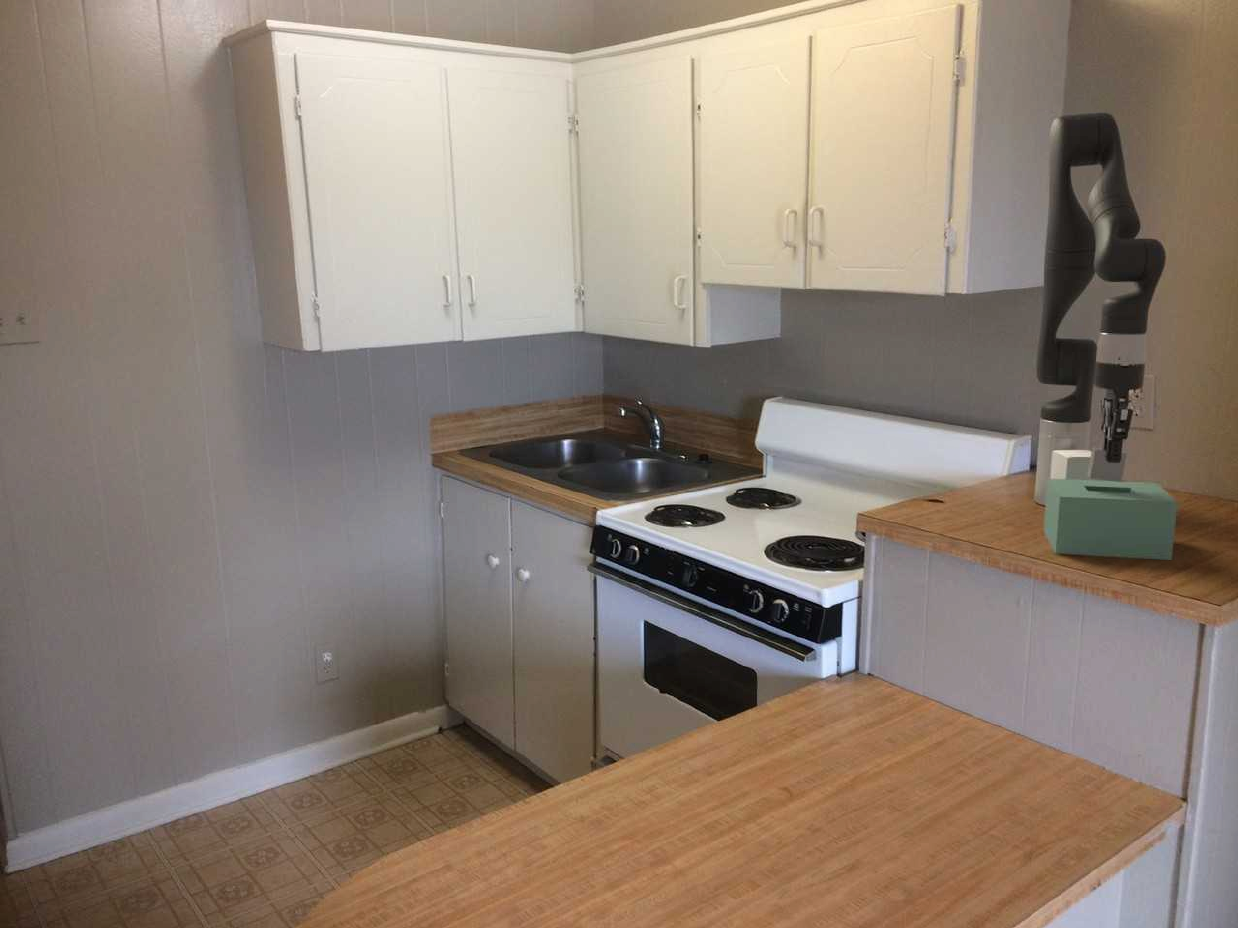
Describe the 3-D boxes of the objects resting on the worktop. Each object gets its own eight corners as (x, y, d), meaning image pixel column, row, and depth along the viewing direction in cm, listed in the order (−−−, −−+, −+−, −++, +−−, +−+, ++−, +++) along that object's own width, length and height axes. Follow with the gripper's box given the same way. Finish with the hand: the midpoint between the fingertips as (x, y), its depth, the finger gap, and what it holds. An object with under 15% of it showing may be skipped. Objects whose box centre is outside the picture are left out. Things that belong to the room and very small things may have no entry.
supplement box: (1101, 522, 195) (1106, 456, 192) (1061, 522, 195) (1066, 457, 192) (1084, 512, 202) (1089, 449, 199) (1046, 512, 202) (1051, 449, 200)
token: (1087, 475, 179) (1092, 447, 178) (1117, 478, 178) (1123, 450, 177) (1089, 478, 177) (1095, 449, 176) (1121, 482, 176) (1126, 453, 175)
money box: (1043, 531, 189) (1047, 478, 187) (1150, 537, 184) (1156, 482, 182) (1055, 553, 176) (1060, 496, 173) (1171, 560, 171) (1177, 501, 169)
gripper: (1088, 355, 181) (1080, 452, 184) (1104, 364, 168) (1095, 467, 171) (1135, 356, 179) (1126, 453, 183) (1155, 364, 166) (1144, 469, 169)
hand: (1111, 460), depth 177 cm, fingers closed on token, 2 cm apart
